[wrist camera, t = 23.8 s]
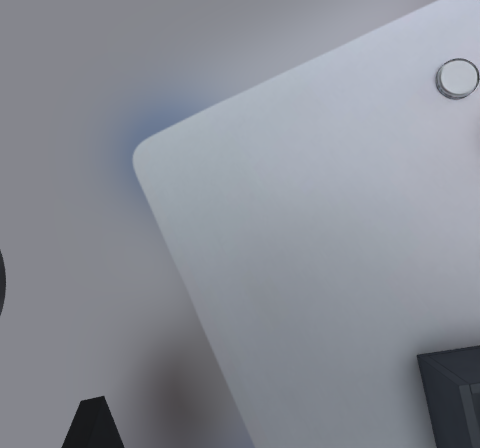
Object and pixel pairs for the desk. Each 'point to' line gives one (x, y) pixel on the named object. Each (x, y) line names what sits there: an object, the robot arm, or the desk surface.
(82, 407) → the robot arm
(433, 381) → the trash bin
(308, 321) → the desk surface
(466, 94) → the white bottle cap
